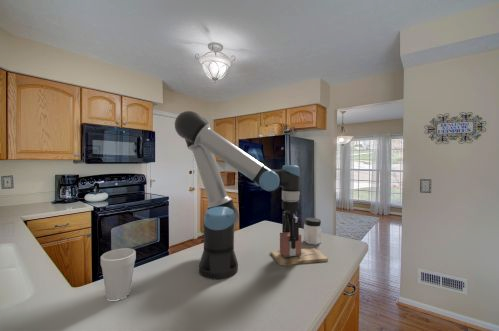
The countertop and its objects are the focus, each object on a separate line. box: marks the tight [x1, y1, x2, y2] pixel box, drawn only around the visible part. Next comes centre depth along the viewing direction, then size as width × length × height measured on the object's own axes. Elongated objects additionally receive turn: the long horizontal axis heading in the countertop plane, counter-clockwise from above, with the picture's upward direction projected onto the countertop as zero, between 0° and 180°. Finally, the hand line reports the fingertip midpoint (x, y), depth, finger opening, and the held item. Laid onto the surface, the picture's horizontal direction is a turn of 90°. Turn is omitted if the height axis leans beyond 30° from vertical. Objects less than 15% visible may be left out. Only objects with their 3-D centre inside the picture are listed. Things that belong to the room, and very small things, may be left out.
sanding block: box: [279, 232, 302, 257], centre depth 101 cm, size 8×5×9 cm, turn 103°
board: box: [270, 247, 329, 266], centre depth 102 cm, size 22×12×1 cm, turn 103°
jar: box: [303, 217, 322, 246], centre depth 122 cm, size 9×8×12 cm
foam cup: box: [100, 247, 137, 300], centre depth 71 cm, size 10×9×13 cm
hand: (289, 252), depth 101 cm, fingers closed on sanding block, 5 cm apart
